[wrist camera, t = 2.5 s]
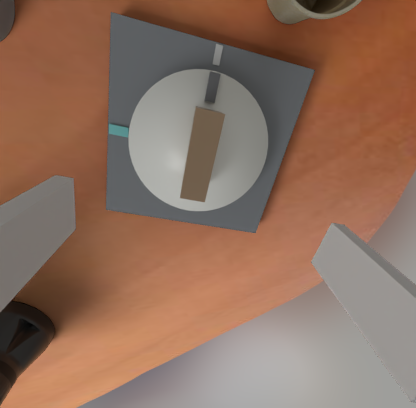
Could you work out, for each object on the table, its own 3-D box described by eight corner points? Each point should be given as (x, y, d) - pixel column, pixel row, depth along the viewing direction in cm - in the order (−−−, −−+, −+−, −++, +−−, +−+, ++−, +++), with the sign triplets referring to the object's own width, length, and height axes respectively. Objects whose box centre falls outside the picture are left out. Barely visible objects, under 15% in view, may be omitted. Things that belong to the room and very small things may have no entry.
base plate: (252, 226, 38) (255, 234, 36) (110, 203, 35) (105, 210, 33) (307, 71, 29) (316, 69, 26) (116, 18, 25) (109, 11, 23)
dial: (243, 215, 35) (253, 238, 29) (127, 195, 32) (112, 217, 26) (284, 90, 27) (308, 88, 21) (137, 52, 25) (119, 37, 19)
